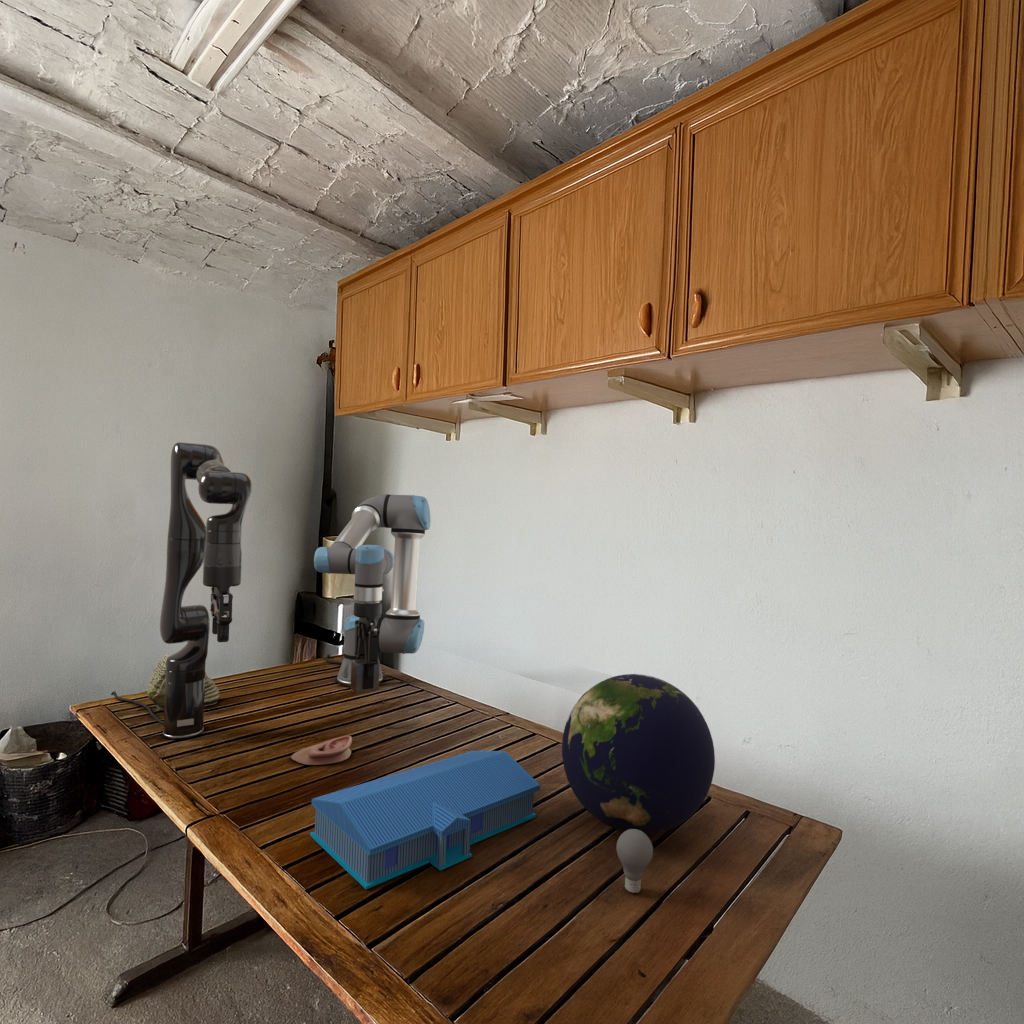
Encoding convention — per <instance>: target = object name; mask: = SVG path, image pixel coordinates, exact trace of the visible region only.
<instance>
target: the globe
mask: <svg viewBox="0 0 1024 1024" xmlns="http://www.w3.org/2000/svg"><path fill="white" fill-rule="evenodd" d="M715 754H716V753H715V746H714V740H713V737H712V733H711V730H710V727H709V726H708V723H707V721H706V719H705V717H704V715H703V714H702V712H701V710H700V709H699V707H698V706H697V705H696V703H694V701H693V700H692V699H691V698H690V697H689V696H688V695H687V694H686V693H685V692H683V691H682V690H681V689H679V688H678V687H676V686H675V685H674V684H672V683H670V682H668V681H666V680H664V679H661V678H658V677H656V676H652V675H647V674H643V673H627V674H619V675H615V676H611V677H608V678H606V679H604V680H602V681H600V682H597V683H596V684H595V685H593V686H592V687H590V688H589V689H588V690H587V691H585V692H584V693H583V694H582V695H581V696H580V697H579V699H578V700H577V701H576V703H575V704H574V705H573V707H572V709H571V710H570V713H569V715H568V717H567V720H566V722H565V725H564V729H563V733H562V742H561V758H562V764H563V769H564V773H565V776H566V779H567V782H568V784H569V787H570V788H571V790H572V792H573V794H574V795H575V797H576V799H577V800H578V801H579V802H580V804H581V805H582V806H583V808H584V809H585V810H586V811H587V812H589V813H590V815H592V816H593V817H594V818H596V820H598V821H600V822H601V823H602V824H604V825H605V826H607V827H609V828H612V829H614V830H616V831H619V832H622V833H623V832H625V831H627V830H629V829H637V830H640V831H642V832H644V833H645V834H646V835H647V836H649V835H657V834H661V833H664V832H668V831H671V830H673V829H675V828H677V827H678V826H680V825H682V824H684V823H685V822H686V821H688V820H689V819H690V818H691V817H692V816H693V815H694V814H695V813H696V812H697V811H698V810H699V808H700V807H701V806H702V804H703V803H704V801H705V800H706V797H707V796H708V794H709V791H710V789H711V785H712V783H713V779H714V773H715V767H716V755H715Z"/></svg>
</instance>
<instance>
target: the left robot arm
mask: <svg viewBox="0 0 1024 1024" xmlns="http://www.w3.org/2000/svg"><path fill="white" fill-rule="evenodd" d="M169 470H170V503H169V504H170V505H169V517H168V527H167V541H166V567H165V582H164V591H163V595H162V602H161V603H162V604H161V610H160V617H159V634H160V638H161V640H162V641H163V642H164V644H167V645H168V644H169V645H172V644H180V643H181V644H183V643H186V644H185V645H184V646H183V647H182V648H181V649H180V650H178V651H176V652H174V653H172V654H170V655H171V656H169V657H168V658H167V660H166V674H165V705H164V710H163V720H161V719H160V718H159V717H158V716H157V715H156V714H155V713H154V712H153V711H152V709H151V707H150V706H148V705H146V704H145V703H142V702H140V701H138V700H135V699H130V698H126V697H125V698H124V697H121V696H118V693H117V692H116V691H114V690H113V691H112V692H111V693H110V696H114V698H115V699H116V700H119V701H123V702H128V703H132V704H135V705H138V706H140V707H143V708H145V709H146V710H147V711H148V713H149V715H150V716H151V717H152V718H153V719H154V720H155V721H157V722H159V723H161V724H163V731H162V737H164V738H166V739H169V740H185V739H190V738H191V739H192V738H194V737H197V736H199V735H202V734H203V732H204V730H205V729H204V722H205V721H204V718H205V706H204V693H205V672H206V664H207V663H206V662H207V658H208V653H209V652H208V651H209V641H210V640H209V639H210V631H211V633H212V634H213V635H217V636H216V641H217V642H218V643H227V642H229V641H230V625H231V623H232V622H233V600H234V596H233V595H234V594H232V593H231V592H230V588H231V587H238V586H240V585H241V583H242V564H243V563H242V561H243V552H242V551H243V550H242V527H243V521H244V516H245V513H246V509H247V506H248V503H249V501H250V498H251V495H252V492H253V484H252V483H253V482H252V480H251V478H250V477H249V475H247V473H244V472H239V471H237V472H236V471H232V470H230V469H229V468H228V467H227V466H226V465H225V463H224V460H223V458H222V455H221V452H220V451H219V449H218V448H216V447H215V446H214V445H211V444H204V443H203V444H202V443H195V442H194V443H192V442H182V441H181V442H180V441H178V442H175V443H174V445H172V448H171V452H170V469H169ZM186 480H192V481H193V480H194V481H196V482H197V483H198V488H197V489H198V490H197V491H198V495H199V498H200V499H201V500H202V501H203V502H204V503H206V504H207V503H208V504H211V505H212V504H213V505H231V507H230V509H229V510H228V511H227V512H225V513H220V514H214V515H211V516H208V517H207V519H206V523H205V521H204V520H203V519H202V517H201V515H200V514H199V512H198V511H197V510H196V507H195V506H194V505H193V503H192V500H191V498H190V496H189V494H188V491H187V485H186ZM202 566H203V568H202V569H203V570H202V585H203V586H205V587H209V588H211V589H210V590H211V593H210V609H209V610H210V613H209V610H208V608H207V607H206V606H205V605H203V604H192V605H191V604H190V605H182V604H183V599H184V595H185V592H186V590H187V588H188V586H189V584H190V583H191V581H192V579H193V578H194V577H195V576H196V574H197V573H198V571H200V569H201V567H202ZM210 615H211V617H212V621H211V617H210Z"/></svg>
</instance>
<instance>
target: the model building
mask: <svg viewBox="0 0 1024 1024" xmlns="http://www.w3.org/2000/svg"><path fill="white" fill-rule="evenodd" d="M538 791H541V784H540V783H539V782H538V781H537V780H536V779H535V778H534V777H533V776H532V775H531V774H530V773H529V772H527V771H526V769H524V768H523V766H521V764H519V762H517V761H516V760H515V759H514V757H512V756H511V755H510V754H509V753H508V752H507V750H471V751H467V752H464V753H460V754H457V755H454V756H449V757H447V758H444V759H441V760H437V761H434V762H431V763H427V764H423V765H420V766H417V767H414V768H410V769H407V770H403V771H400V772H397V773H394V774H390V775H387V776H384V777H381V778H380V777H379V778H377V779H374V780H371V781H366V782H364V783H360V784H357V785H354V786H350V787H347V788H344V789H339V790H337V791H334V792H330V793H327V794H324V795H319V796H316V797H314V798H311V806H313V807H314V808H315V817H314V831H311V832H310V833H309V836H310V838H312V839H313V840H314V841H315V842H316V843H317V845H319V846H320V847H321V848H322V849H323V850H325V852H326V853H327V854H329V856H330V857H331V858H333V859H334V860H335V861H336V862H337V863H338V864H339V865H340V866H341V867H342V868H343V869H344V870H345V871H346V872H347V874H349V875H350V876H351V877H352V878H353V879H354V880H355V881H356V882H357V883H359V885H361V886H362V887H363V888H364V890H369V889H371V888H373V887H375V886H378V885H381V884H382V883H385V882H388V881H389V880H392V879H394V878H397V877H399V876H402V875H404V874H406V873H408V872H410V871H413V870H416V869H417V868H420V867H423V866H424V865H427V864H429V863H430V864H431V865H432V866H433V867H434V868H436V869H437V870H438V871H440V872H441V871H443V870H445V869H448V868H450V867H452V866H455V865H457V864H459V863H461V862H463V861H465V860H468V859H471V858H473V853H471V852H470V851H471V846H472V845H474V844H476V843H478V842H482V841H484V840H486V839H488V838H490V837H493V836H495V835H497V834H499V833H502V832H505V831H506V830H507V831H508V830H510V829H512V828H513V827H516V826H519V825H520V824H523V823H525V822H527V821H530V820H532V819H535V818H537V817H538V814H537V813H535V812H534V798H535V797H534V796H535V792H538Z"/></svg>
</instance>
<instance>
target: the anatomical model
mask: <svg viewBox="0 0 1024 1024" xmlns="http://www.w3.org/2000/svg"><path fill="white" fill-rule="evenodd" d="M352 743H353V737H352V735H343V736H339V737H335V738H332V739H329V740H326V741H323V742H321V743H318V744H315V745H311V746H308V747H304V748H302V749H300V750H298V751H295V752H294V753H293V754H292V755H291V756H290V758H291V760H293V761H294V762H297V763H299V764H302V765H306V766H319V765H330V764H337V763H340V762H343V761H345V760H347V759H349V758H350V756H351V755H352V750H351V748H350V747H351V745H352Z"/></svg>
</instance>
